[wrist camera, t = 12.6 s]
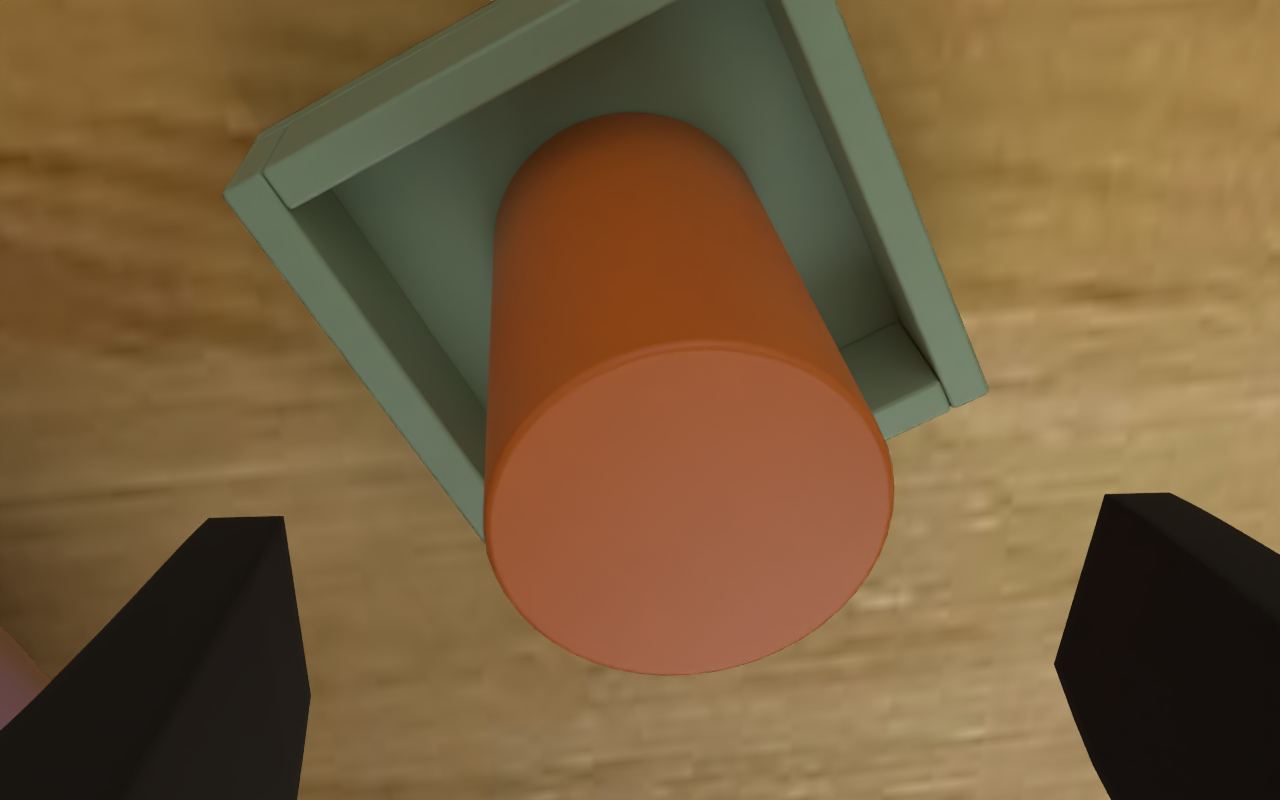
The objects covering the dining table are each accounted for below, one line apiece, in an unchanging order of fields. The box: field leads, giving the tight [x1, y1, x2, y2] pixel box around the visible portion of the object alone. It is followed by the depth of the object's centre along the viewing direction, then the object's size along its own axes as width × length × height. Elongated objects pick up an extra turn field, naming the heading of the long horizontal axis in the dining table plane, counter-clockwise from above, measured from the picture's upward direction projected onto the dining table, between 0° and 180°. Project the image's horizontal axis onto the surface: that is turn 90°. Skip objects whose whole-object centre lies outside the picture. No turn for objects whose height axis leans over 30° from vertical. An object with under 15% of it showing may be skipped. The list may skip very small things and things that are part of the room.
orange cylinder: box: [483, 112, 894, 675], centre depth 14 cm, size 4×4×7 cm
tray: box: [222, 0, 988, 543], centre depth 16 cm, size 8×8×2 cm
